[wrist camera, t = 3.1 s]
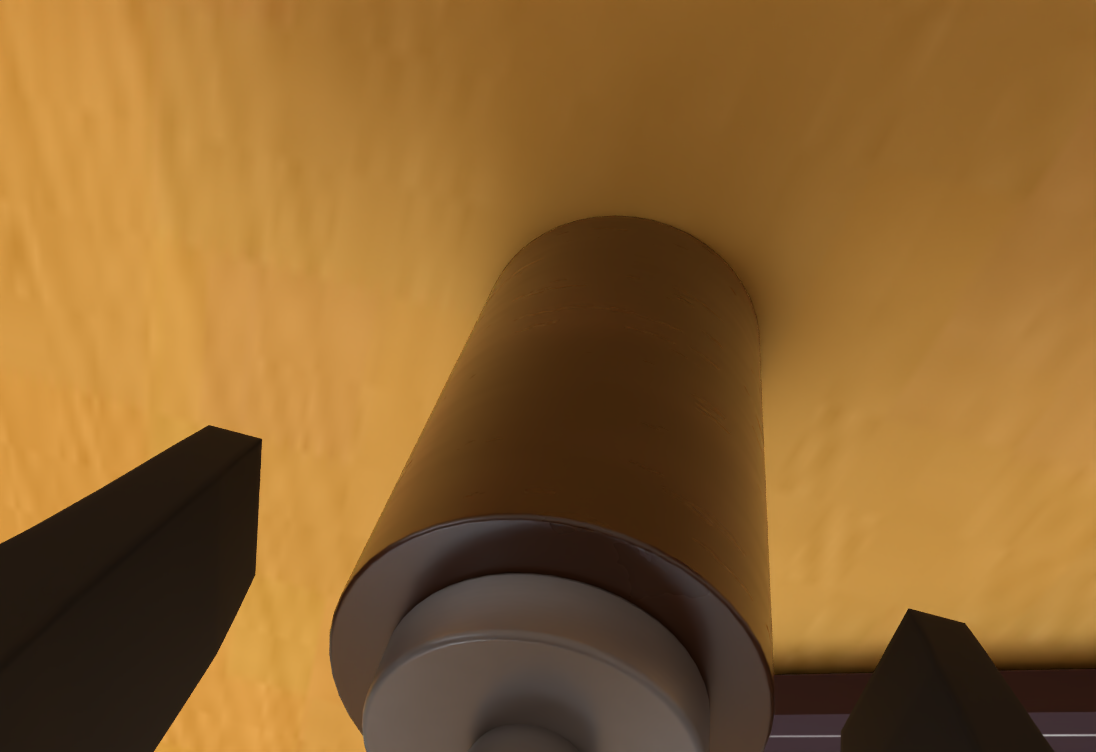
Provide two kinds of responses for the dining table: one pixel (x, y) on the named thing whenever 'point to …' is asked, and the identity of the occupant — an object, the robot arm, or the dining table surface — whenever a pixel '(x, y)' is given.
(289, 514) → the dining table surface
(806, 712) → the chocolate bar
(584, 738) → the pepper mill
